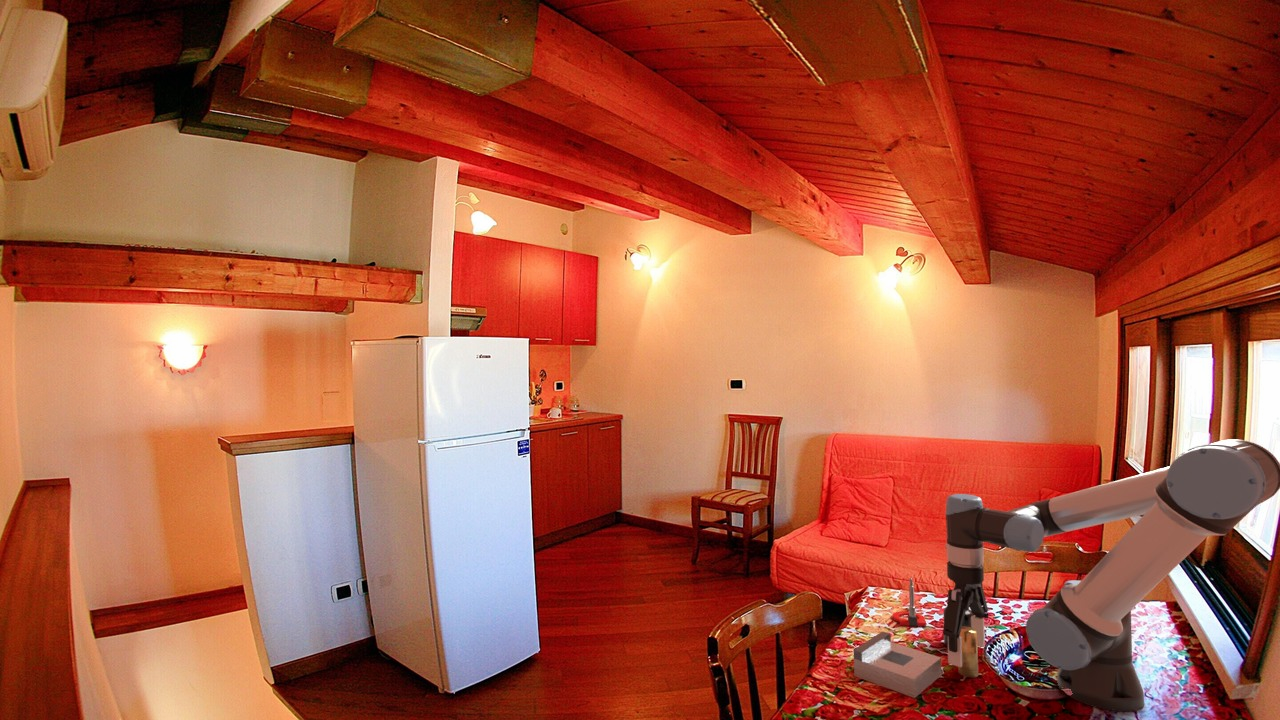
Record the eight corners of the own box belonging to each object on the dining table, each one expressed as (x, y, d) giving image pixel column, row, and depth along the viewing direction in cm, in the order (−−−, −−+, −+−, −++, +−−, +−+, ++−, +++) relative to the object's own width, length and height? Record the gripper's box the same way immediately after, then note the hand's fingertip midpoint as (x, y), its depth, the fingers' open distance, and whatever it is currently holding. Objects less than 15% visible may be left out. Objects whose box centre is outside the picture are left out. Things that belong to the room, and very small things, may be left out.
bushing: (980, 673, 148) (979, 629, 148) (974, 679, 145) (972, 635, 145) (962, 667, 151) (961, 624, 151) (955, 673, 148) (954, 630, 148)
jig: (941, 675, 147) (940, 648, 147) (914, 698, 138) (913, 670, 138) (883, 655, 158) (882, 631, 158) (854, 675, 148) (853, 649, 148)
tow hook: (889, 614, 184) (897, 626, 174) (887, 569, 184) (895, 578, 175) (920, 616, 182) (929, 628, 173) (918, 569, 183) (928, 579, 174)
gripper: (968, 547, 159) (970, 632, 159) (925, 572, 142) (927, 667, 142) (1001, 553, 154) (1003, 642, 154) (960, 580, 137) (962, 679, 137)
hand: (966, 654), depth 148 cm, fingers open, 13 cm apart
